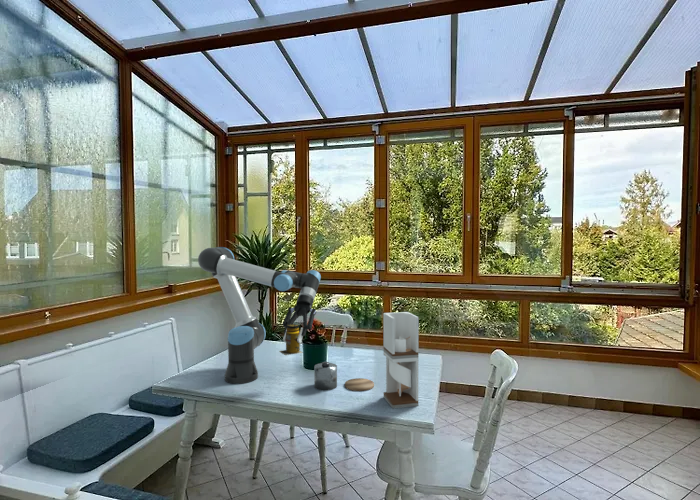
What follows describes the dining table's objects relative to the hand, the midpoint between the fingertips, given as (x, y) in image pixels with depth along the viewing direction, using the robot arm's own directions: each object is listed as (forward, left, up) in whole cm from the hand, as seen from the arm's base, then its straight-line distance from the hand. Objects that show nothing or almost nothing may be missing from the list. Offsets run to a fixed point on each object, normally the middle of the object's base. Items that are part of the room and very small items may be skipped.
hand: (291, 341), depth 177 cm
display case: (+35, +33, -21) cm, 53 cm away
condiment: (-1, 0, -5) cm, 5 cm away
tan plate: (+12, +27, -21) cm, 36 cm away
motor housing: (+5, +14, -21) cm, 25 cm away
